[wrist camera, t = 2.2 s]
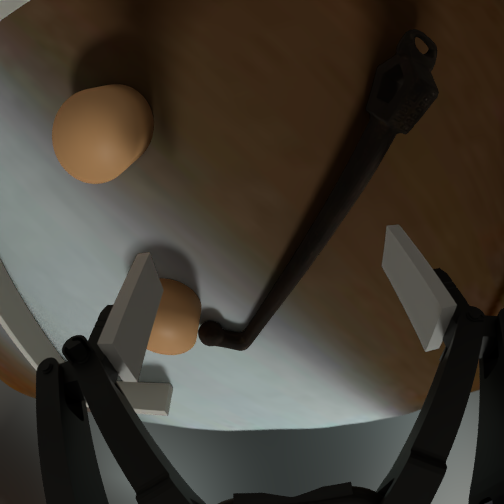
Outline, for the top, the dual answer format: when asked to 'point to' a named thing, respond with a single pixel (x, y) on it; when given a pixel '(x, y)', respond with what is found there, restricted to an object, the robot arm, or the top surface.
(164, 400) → the chip tray
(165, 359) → the top surface
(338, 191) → the black hooked stick
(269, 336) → the top surface
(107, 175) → the puck
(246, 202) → the top surface
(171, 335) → the puck
